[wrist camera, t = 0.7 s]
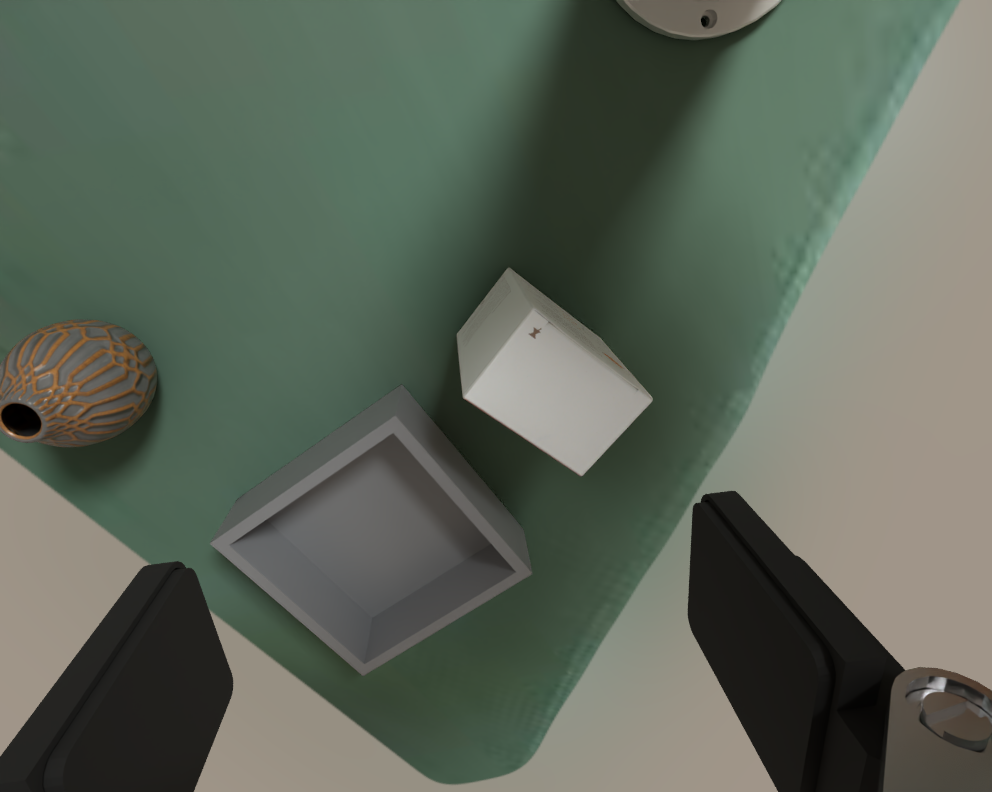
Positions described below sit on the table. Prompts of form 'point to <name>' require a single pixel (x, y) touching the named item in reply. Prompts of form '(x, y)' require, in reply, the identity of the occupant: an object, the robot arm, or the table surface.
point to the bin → (376, 535)
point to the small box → (546, 375)
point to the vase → (75, 384)
